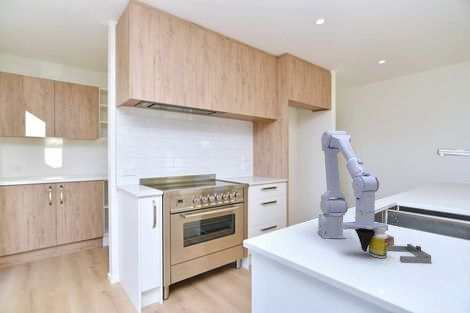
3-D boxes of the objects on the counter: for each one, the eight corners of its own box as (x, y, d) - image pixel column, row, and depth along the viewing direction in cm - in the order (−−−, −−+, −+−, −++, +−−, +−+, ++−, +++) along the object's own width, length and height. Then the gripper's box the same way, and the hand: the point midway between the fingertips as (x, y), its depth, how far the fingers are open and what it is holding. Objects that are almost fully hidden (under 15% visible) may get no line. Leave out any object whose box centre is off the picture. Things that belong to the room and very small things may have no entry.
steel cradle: (401, 262, 77) (402, 251, 77) (384, 249, 87) (384, 240, 87) (431, 263, 77) (431, 252, 76) (409, 250, 87) (410, 241, 86)
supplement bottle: (386, 260, 78) (388, 230, 78) (367, 255, 81) (369, 227, 81) (386, 254, 83) (387, 226, 83) (368, 250, 86) (369, 223, 86)
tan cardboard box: (381, 246, 90) (381, 238, 90) (372, 242, 94) (372, 234, 94) (394, 244, 92) (394, 236, 92) (384, 241, 96) (384, 233, 96)
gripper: (347, 213, 79) (347, 254, 79) (393, 214, 78) (393, 256, 78) (339, 208, 86) (339, 246, 86) (381, 209, 85) (381, 247, 85)
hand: (364, 250), depth 82 cm, fingers closed
